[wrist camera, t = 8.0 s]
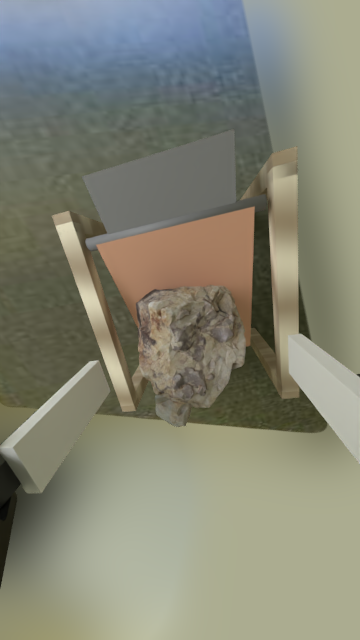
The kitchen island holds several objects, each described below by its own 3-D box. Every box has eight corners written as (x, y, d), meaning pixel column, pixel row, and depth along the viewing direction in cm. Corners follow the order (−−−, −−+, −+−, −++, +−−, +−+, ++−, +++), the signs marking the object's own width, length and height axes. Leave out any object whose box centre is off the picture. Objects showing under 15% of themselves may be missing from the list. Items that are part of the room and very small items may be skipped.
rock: (235, 274, 19) (216, 247, 10) (263, 381, 19) (270, 454, 10) (161, 298, 23) (97, 294, 14) (184, 389, 23) (135, 448, 13)
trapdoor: (72, 181, 14) (53, 185, 12) (257, 124, 12) (272, 116, 10) (150, 343, 27) (147, 359, 24) (251, 329, 24) (257, 344, 22)
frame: (124, 236, 28) (51, 215, 14) (244, 207, 25) (297, 146, 12) (154, 349, 34) (123, 411, 20) (255, 335, 31) (299, 397, 17)
